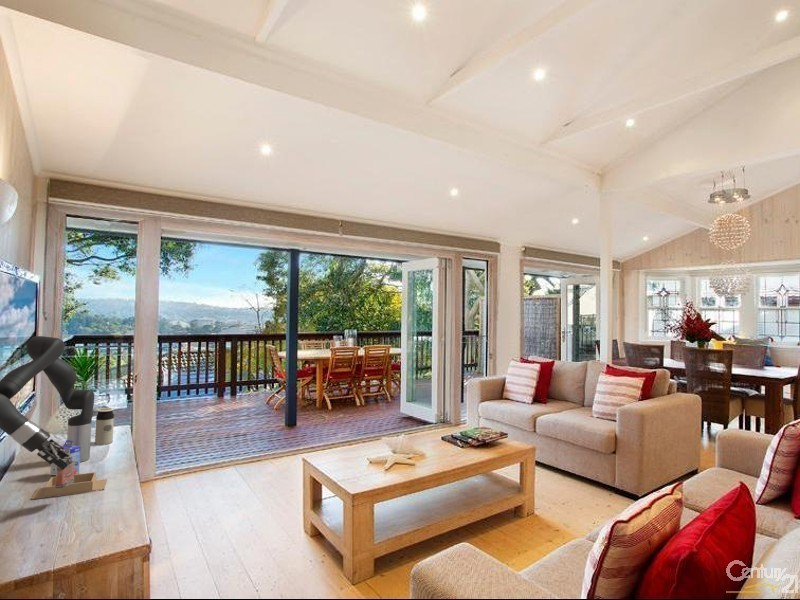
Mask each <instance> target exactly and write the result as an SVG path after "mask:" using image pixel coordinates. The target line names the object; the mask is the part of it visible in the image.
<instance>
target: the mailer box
mask: <svg viewBox="0 0 800 600" xmlns="http://www.w3.org/2000/svg"><path fill="white" fill-rule="evenodd" d="M96 479H97V480H96ZM56 481H57V476H52V477H50V478H49V480H48V482H47V483H46V485H45V486H43V487H38V488H37V489H36V490H35V492H34V494H33V496H32V497H31V498H30V499H31V500H37V499H38V500H39V499H46V498H45V497H48V498H52V497H51V496H55V497H61V496H60V495H63V496H68V495H76V494H83V493H90V491H92V492H97V491H96V490H99V491H102V490H101V489H104V488H105V489H106V486H107V481H108V479H107V478H106V479H105V478H104V479H99V480H98V477H97V472H96V471H93V472H92V471H91V472H84V473H79V474H75V475H74V482H73V483H71V484H70V485H68V486H66V487H64V488H60V489H56V488H55V486H56ZM105 485H106V486H105ZM105 489H104V490H105ZM58 495H59V496H58Z"/></svg>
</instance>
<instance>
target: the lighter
mask: <svg viewBox="0 0 800 600" xmlns="http://www.w3.org/2000/svg"><path fill="white" fill-rule="evenodd" d="M72 458H73V456H69V457H65V458H64V459H62V460H63V461H64V462H66V463H67V464H68V466H67V467H66V468H64V469H61V468H59V467H57V476H56V477H57V481H56V486H55V488H56V489H60V488H64V487H66V486H68V485H70V484H71V483H73V482H74V465H75V461H72Z"/></svg>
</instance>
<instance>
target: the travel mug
mask: <svg viewBox="0 0 800 600" xmlns="http://www.w3.org/2000/svg"><path fill="white" fill-rule="evenodd" d="M114 410H115V409H114V408H112V407H105V408H104V407H103V408H98V409H97V410H96V411H97V414H96V415H95V416H96V417H95V435H94V437H95V439H94V444H95V445H96V446H97V445H98V446H104V444H105V445H110V444H111V443H113V441H114V425H115V424H114V422H115V414H114Z"/></svg>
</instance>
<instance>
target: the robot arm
mask: <svg viewBox="0 0 800 600" xmlns="http://www.w3.org/2000/svg"><path fill="white" fill-rule="evenodd" d="M65 346H66V345H65V341H64V340H63V339H61V338H58V337H53V336H45V335H43V336H42V335H35V336H33V337H31V338H30V339H29V340H28V341H27V343H26V352H27V355H28V356H29V357H30V359H31V361H28V362H26V363H24V364H22V365H20V366H18V367H16V368H14V369H12V370H10V371H9V372H7V374H5V375H4V377H2V378H1V379H0V430H1V431H3V432H4V433H5V434H7V435H8V436H9V437H10V438H12V439H13V440H14V441H15V442H16V443H18V445H20V446H22V447H23V448H24V449H25V450H27V451H28V452H29V453H33V452H34V451H36V450H37V451H38V452H37V454H36V455H37V456H38V457H40V458H41V459H42V460H43V461H45V462H47V463H48V465H51V464H55V465H57V466H58V467H59V468H61V469H64V468H66V467H67V466H68V464H67V463H66V462H64V461H63V460H62V459H64V458H65V457H69V455H68V454H66V453H65V452H64V450H63V449H64V448H63V447H62V446H60V445H61V444H59V443H57V442H56V441H55V440H54V439H53V438H51V439H50V437H51V434H50V433H48V432H47V431H46V430H44V428H42V427H40V426H39V425H38V424H37V423H35V422H33V421H32V420H30V419H28V418H27V417H26V416H25V415H23V414H22V413H21V412H19V410H18V408H17V407H16V406H15V405H14V404H13V402H12V400H11V399H12V398H13V397H15V396H16V395H17V394H18V393H19V392H20V391H21V390H22V389H23V388H24V387H25V386H26V385H27V384H28V383H29V382H30V381H31V380H32V379H34V377H36V376H37V375H38V374H39V373H41V372H42V371H43V373H44V374H45V375H46V376H47V378H48V380H49V381H50V383H51V384H52V385H53V387H54V388H55V389H56V391H57V392H58V394H59V395H60V398H61V400H62V402H63V405H64V407H65V408H66V409H68V410H74V411H75V410H77V411H78V410H81V411H80V412H81V413H79V414H77V415H75V416H72V417H70V418H68V419H67V435H66V437H67V438H66V440H71V441H73V443H72V446H81V448H80V463H82V462H86V461H88V460H89V459H90V457H91V456H90V455H91V454H90V453H91V440H92V439H91V438H92V419H93V414H94V403H95V394H94V391H93V390H92V389H74V388H73V387H74V386H75V384H76V383H77V379H78V375H77V373H76V371H75V370H74V368H73V367H72V366H71V364H70V363H68V362H66V361H65V360H63V359H62V358H60V357H62V355H63V353H64V351H65ZM66 444H71V443H70V442H67V443H66ZM58 456H59V457H58ZM52 458H53V459H52ZM60 458H61V459H60Z"/></svg>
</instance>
